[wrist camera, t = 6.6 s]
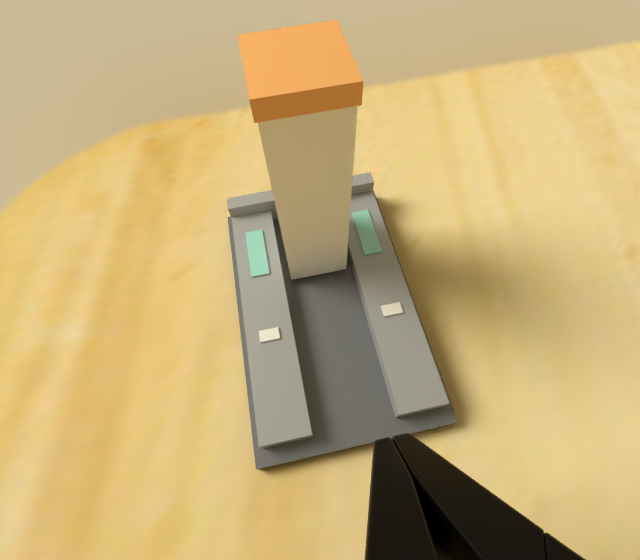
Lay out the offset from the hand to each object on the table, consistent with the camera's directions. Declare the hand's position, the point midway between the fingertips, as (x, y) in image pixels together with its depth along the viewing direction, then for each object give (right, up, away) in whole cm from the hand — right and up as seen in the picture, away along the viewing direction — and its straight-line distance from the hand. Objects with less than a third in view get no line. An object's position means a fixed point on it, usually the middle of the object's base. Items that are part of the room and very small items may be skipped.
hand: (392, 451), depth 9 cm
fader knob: (-2, +5, +14) cm, 15 cm away
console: (-1, +2, +12) cm, 13 cm away
